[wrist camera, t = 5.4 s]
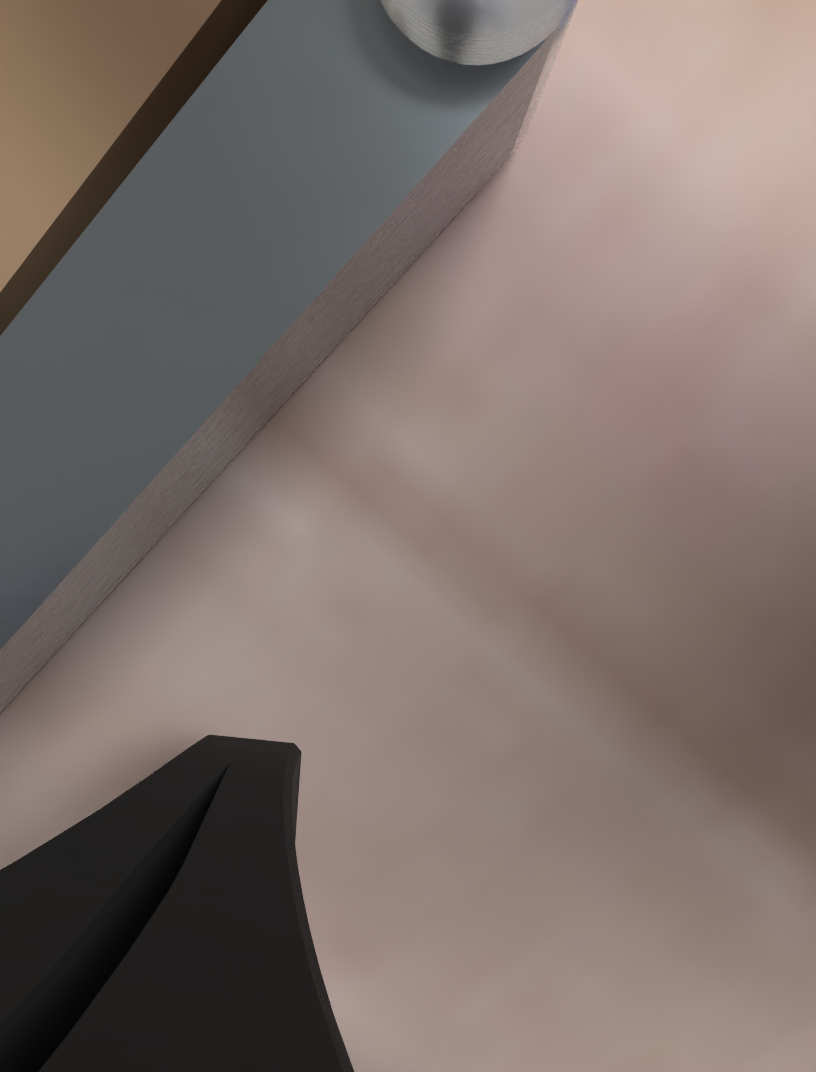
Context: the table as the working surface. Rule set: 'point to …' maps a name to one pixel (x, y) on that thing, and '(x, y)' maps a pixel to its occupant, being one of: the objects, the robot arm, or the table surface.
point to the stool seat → (89, 112)
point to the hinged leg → (238, 274)
